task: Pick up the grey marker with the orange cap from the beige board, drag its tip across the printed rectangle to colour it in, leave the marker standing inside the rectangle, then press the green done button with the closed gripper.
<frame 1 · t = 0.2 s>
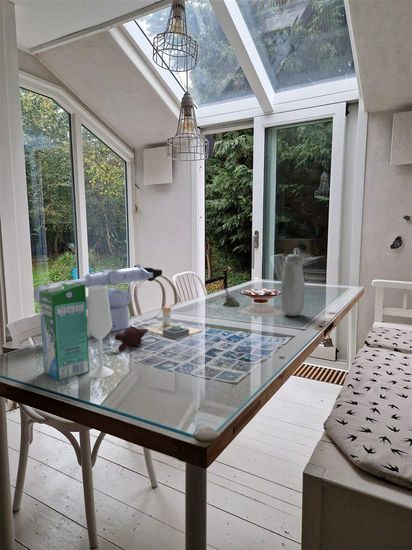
hand: (155, 271, 164), 21 cm above the table, tool horizontal, fingers open, 7 cm apart
milk carton: (66, 372, 105), on the table
marker: (166, 325, 154), resting on beige board
grey bottle: (292, 316, 171), on the table
champagne flute: (101, 373, 104), on the table
done button: (175, 328, 141), point 3 cm above the table, slide at 0.0 cm
sword in stone: (231, 306, 196), on the table
button housing: (175, 334, 141), resting on beige board
dark red figurine: (133, 346, 129), on the table
beige board: (172, 330, 148), on the table
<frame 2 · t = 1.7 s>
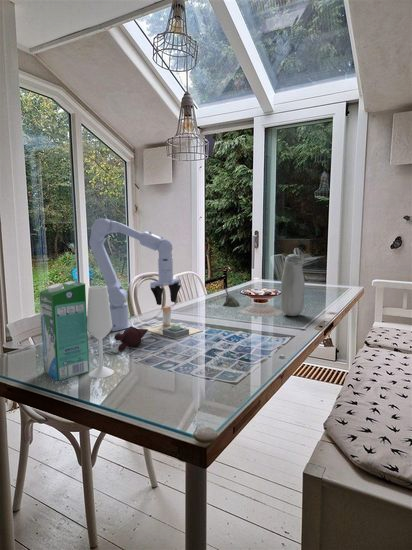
hand: (166, 303, 153), 9 cm above the table, tool pointing down, fingers open, 7 cm apart
nothing on the table moved.
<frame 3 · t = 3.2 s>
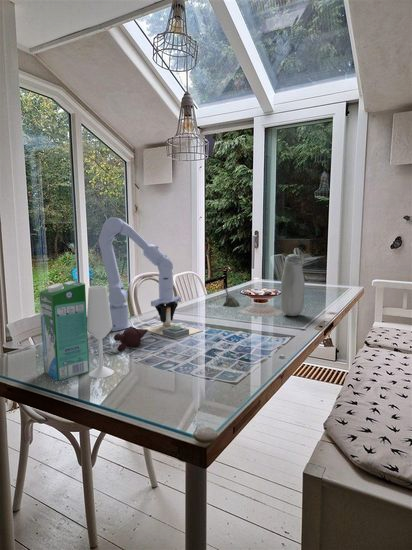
hand: (166, 321, 154), 2 cm above the table, tool pointing down, fingers closed on marker, 3 cm apart
marker: (166, 325, 154), resting on beige board, touching gripper
everything else where it was.
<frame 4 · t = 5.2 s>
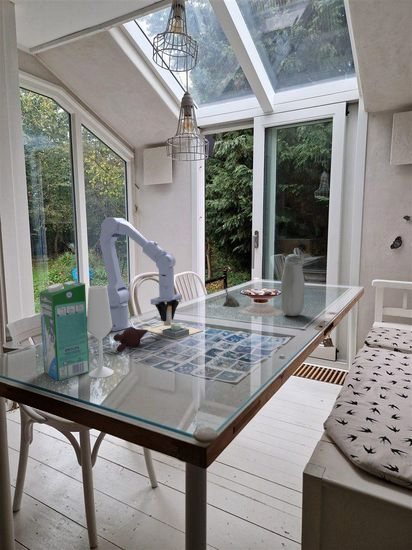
hand: (167, 320, 147), 4 cm above the table, tool pointing down, fingers closed on marker, 3 cm apart
marker: (167, 324, 147), point 2 cm above the table, touching gripper
when the fingers open (3 cm above the table, at t = 7.5 s): marker stays where it is, resting on beige board.
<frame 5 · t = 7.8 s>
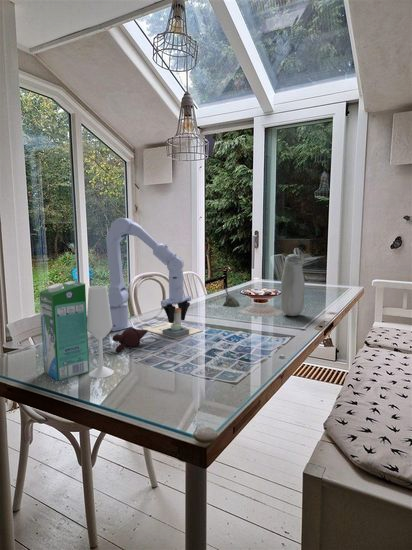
hand: (176, 321, 151), 3 cm above the table, tool pointing down, fingers open, 5 cm apart
marker: (176, 327, 151), resting on beige board
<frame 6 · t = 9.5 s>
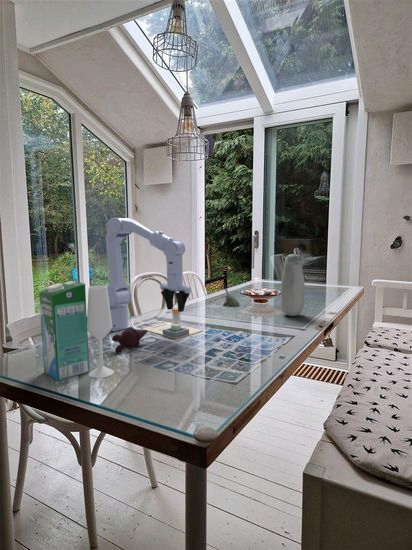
hand: (175, 310, 140), 9 cm above the table, tool pointing down, fingers open, 5 cm apart
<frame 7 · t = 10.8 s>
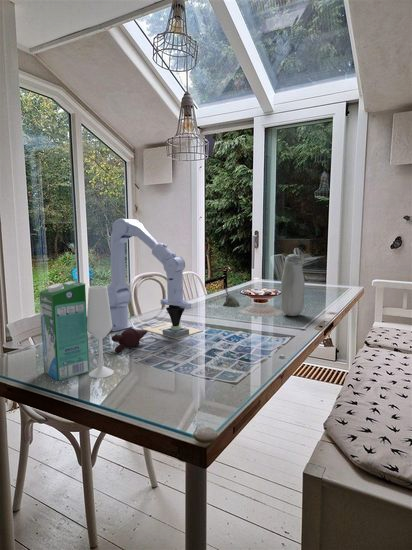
hand: (175, 325, 141), 4 cm above the table, tool pointing down, fingers closed, pressing on done button
done button: (175, 328, 141), point 2 cm above the table, slide at 0.2 cm, touching gripper
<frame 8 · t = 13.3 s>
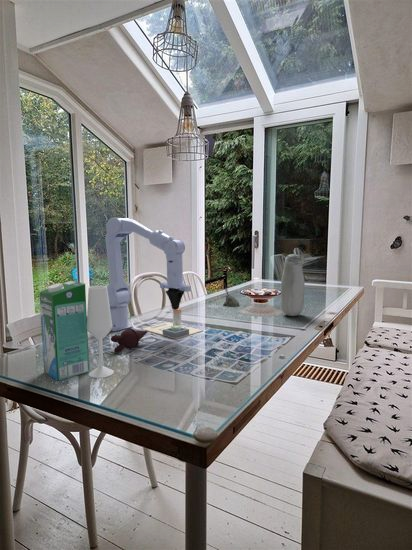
hand: (175, 308, 140), 10 cm above the table, tool pointing down, fingers closed
done button: (175, 330, 141), point 2 cm above the table, slide at 0.6 cm
at the end: done button slide at 0.6 cm; marker inside the target area (2.0 cm from its centre), resting on beige board; marker tilted 2° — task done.
